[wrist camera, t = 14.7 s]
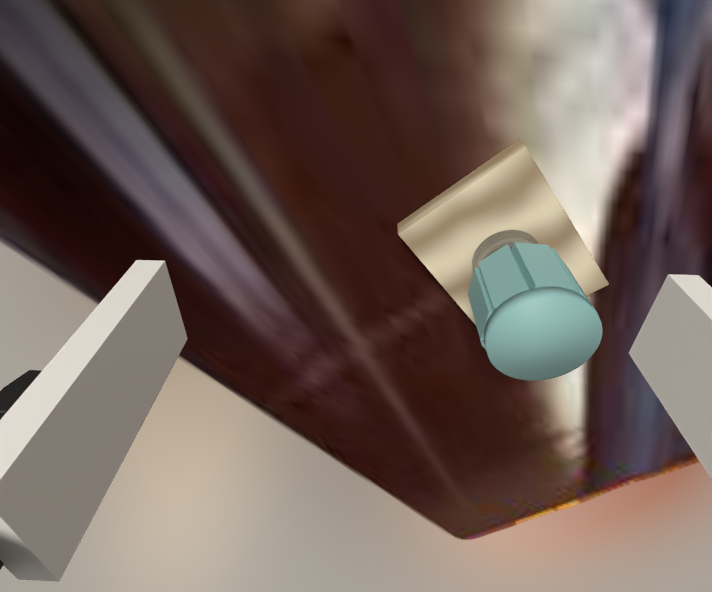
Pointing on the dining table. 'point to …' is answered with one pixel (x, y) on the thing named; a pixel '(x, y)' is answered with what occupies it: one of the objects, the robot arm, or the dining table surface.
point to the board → (494, 223)
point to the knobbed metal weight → (500, 244)
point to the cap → (532, 313)
